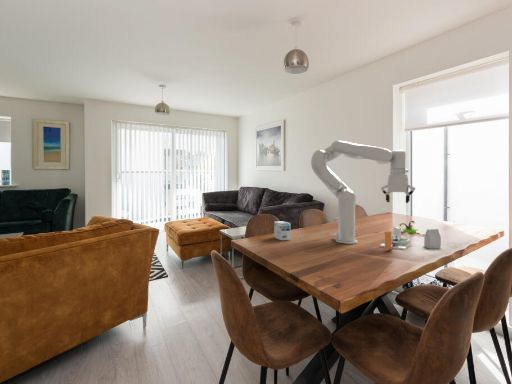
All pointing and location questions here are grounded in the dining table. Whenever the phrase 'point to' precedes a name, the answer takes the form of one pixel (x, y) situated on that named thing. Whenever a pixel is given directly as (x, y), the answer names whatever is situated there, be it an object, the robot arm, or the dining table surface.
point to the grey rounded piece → (396, 234)
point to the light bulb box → (282, 230)
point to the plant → (410, 231)
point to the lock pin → (389, 240)
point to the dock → (399, 244)
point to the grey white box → (432, 239)
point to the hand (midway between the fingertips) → (397, 202)
